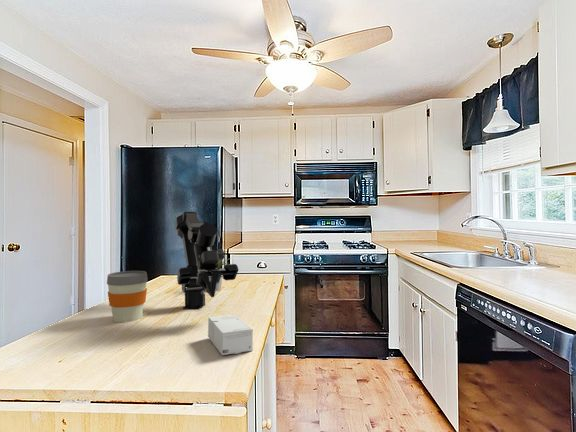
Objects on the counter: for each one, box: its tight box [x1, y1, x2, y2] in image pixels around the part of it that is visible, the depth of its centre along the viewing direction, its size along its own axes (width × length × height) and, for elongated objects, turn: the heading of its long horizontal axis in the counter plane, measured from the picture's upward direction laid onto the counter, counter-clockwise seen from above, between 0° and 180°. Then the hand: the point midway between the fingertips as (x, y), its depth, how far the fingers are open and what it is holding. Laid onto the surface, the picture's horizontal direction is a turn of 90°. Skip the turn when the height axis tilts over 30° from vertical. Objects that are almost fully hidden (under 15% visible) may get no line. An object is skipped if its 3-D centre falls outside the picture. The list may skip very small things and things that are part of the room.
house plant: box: [209, 258, 232, 292], centre depth 161 cm, size 14×14×16 cm
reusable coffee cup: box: [106, 270, 149, 323], centre depth 119 cm, size 12×13×15 cm
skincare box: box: [207, 313, 254, 356], centre depth 95 cm, size 8×6×15 cm
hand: (213, 296), depth 109 cm, fingers closed
